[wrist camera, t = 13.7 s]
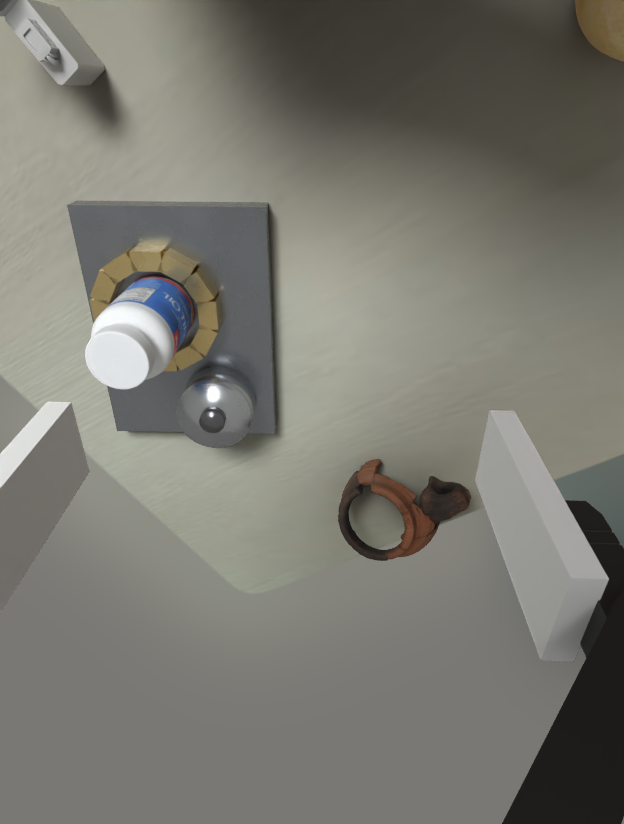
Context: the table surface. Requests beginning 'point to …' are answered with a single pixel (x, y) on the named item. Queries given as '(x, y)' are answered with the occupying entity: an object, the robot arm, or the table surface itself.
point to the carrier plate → (212, 304)
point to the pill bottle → (139, 332)
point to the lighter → (53, 41)
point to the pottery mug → (402, 509)
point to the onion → (603, 25)
